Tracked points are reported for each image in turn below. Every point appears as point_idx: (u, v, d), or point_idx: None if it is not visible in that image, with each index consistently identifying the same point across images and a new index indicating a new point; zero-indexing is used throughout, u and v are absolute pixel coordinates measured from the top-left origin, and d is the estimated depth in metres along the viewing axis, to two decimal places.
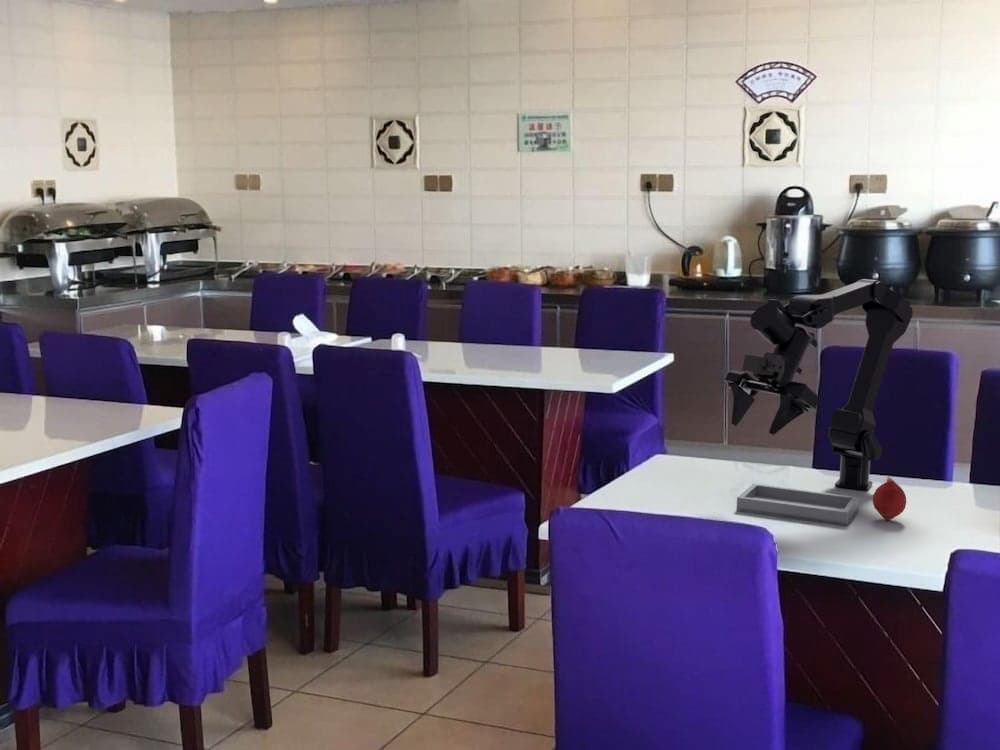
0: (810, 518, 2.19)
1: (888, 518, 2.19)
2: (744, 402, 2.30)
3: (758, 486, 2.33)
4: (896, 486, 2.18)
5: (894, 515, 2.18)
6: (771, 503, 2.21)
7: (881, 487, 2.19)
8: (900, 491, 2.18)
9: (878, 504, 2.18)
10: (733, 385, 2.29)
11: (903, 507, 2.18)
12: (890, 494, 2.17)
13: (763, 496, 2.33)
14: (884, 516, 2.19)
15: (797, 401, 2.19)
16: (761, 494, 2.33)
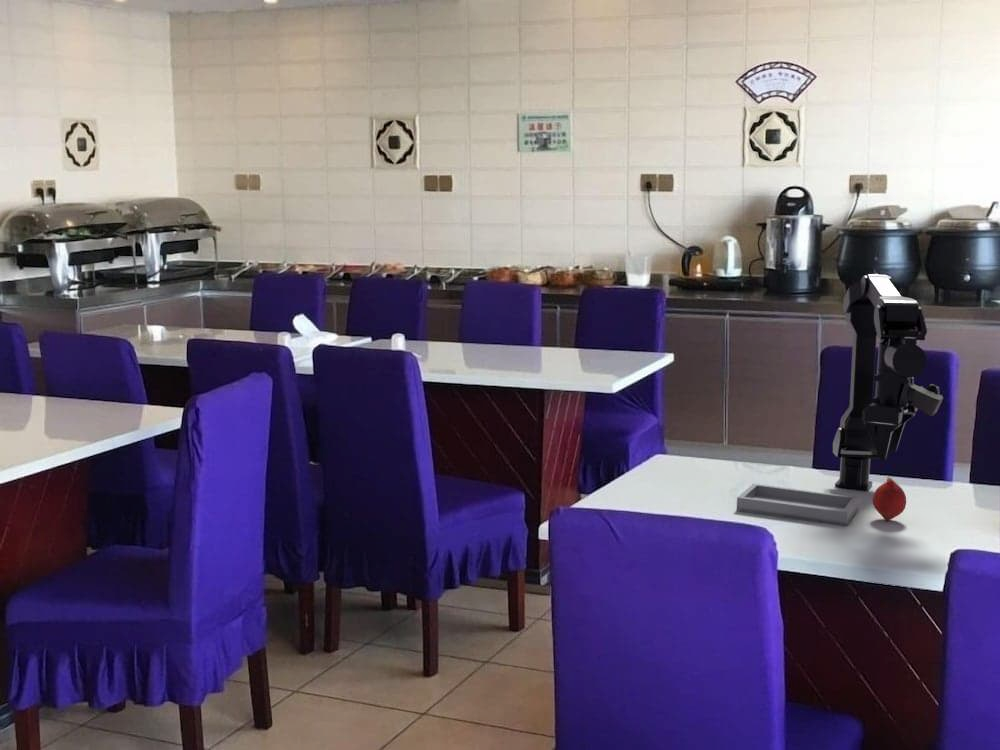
0: (810, 518, 2.19)
1: (888, 518, 2.19)
2: None
3: (758, 486, 2.33)
4: (896, 486, 2.18)
5: (894, 515, 2.18)
6: (771, 503, 2.21)
7: (881, 487, 2.19)
8: (900, 491, 2.18)
9: (878, 504, 2.18)
10: (899, 425, 2.11)
11: (903, 507, 2.18)
12: (890, 494, 2.17)
13: (763, 496, 2.33)
14: (884, 516, 2.19)
15: None
16: (761, 494, 2.33)
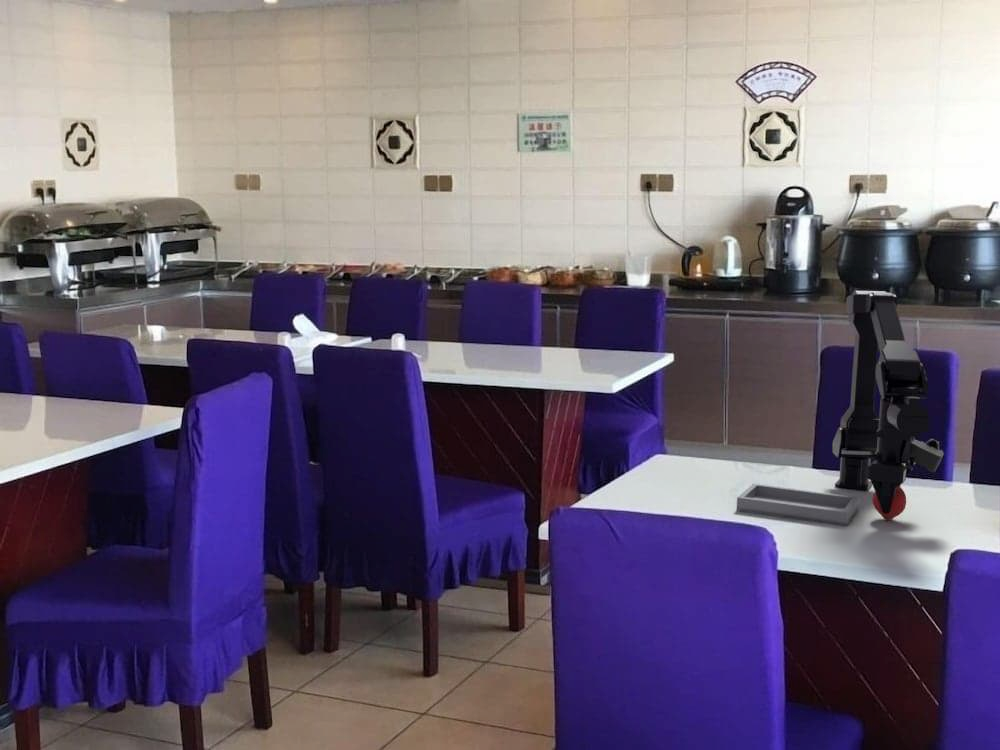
0: (810, 518, 2.19)
1: (888, 518, 2.19)
2: None
3: (758, 486, 2.33)
4: None
5: (894, 515, 2.18)
6: (771, 503, 2.21)
7: None
8: (900, 491, 2.18)
9: (878, 504, 2.18)
10: (904, 480, 2.14)
11: (903, 507, 2.18)
12: None
13: (763, 496, 2.33)
14: (884, 516, 2.19)
15: None
16: (761, 494, 2.33)
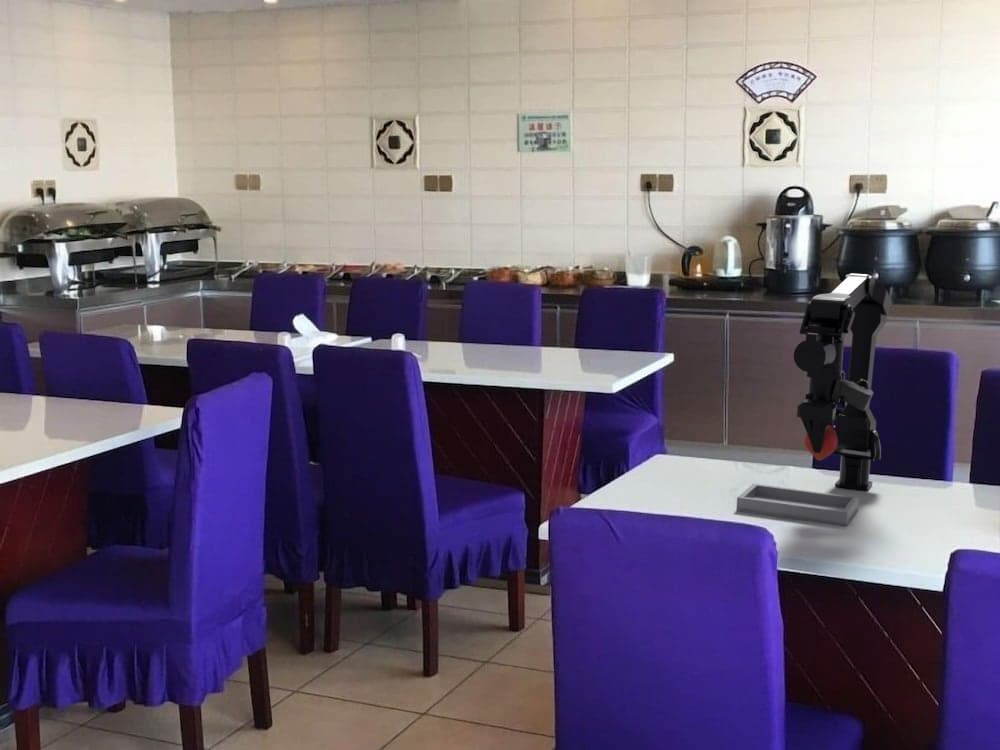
0: (810, 518, 2.19)
1: (820, 458, 2.22)
2: None
3: (758, 486, 2.33)
4: (827, 426, 2.21)
5: (825, 455, 2.21)
6: (771, 503, 2.21)
7: None
8: (831, 431, 2.20)
9: (810, 444, 2.21)
10: (834, 419, 2.16)
11: (834, 447, 2.20)
12: None
13: (763, 496, 2.33)
14: (816, 456, 2.22)
15: (835, 408, 2.27)
16: (761, 494, 2.33)
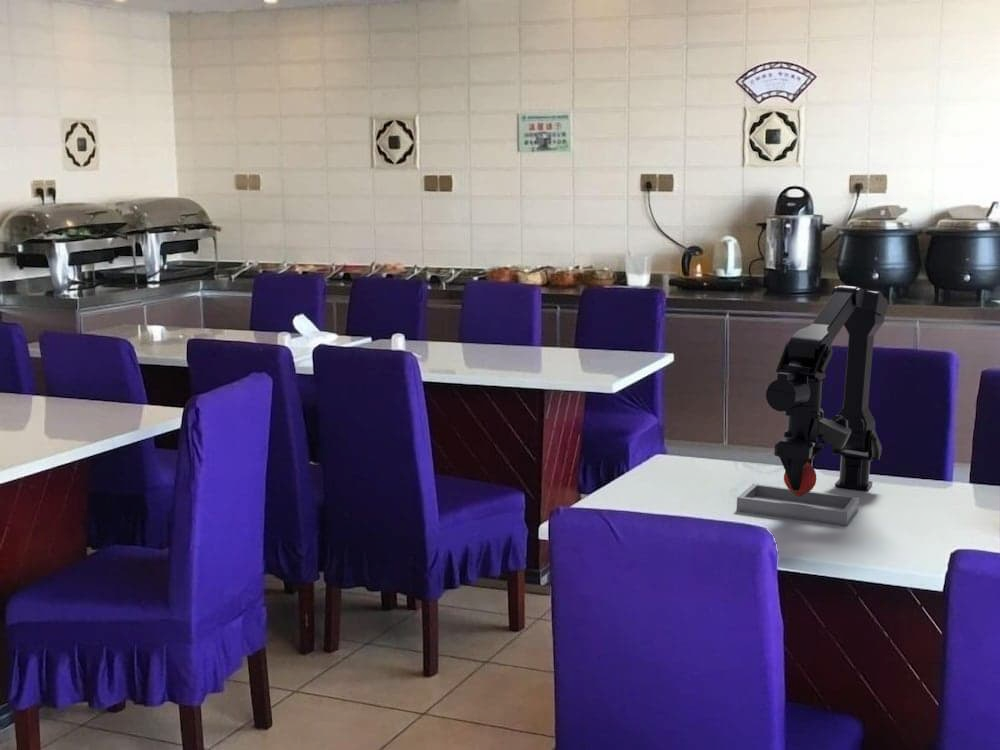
0: (810, 518, 2.19)
1: (798, 495, 2.24)
2: None
3: (758, 486, 2.33)
4: (806, 463, 2.23)
5: (804, 492, 2.23)
6: (771, 503, 2.21)
7: None
8: (810, 468, 2.23)
9: (788, 481, 2.23)
10: (812, 458, 2.18)
11: (813, 484, 2.23)
12: None
13: (763, 496, 2.33)
14: (795, 493, 2.24)
15: None
16: (761, 494, 2.33)
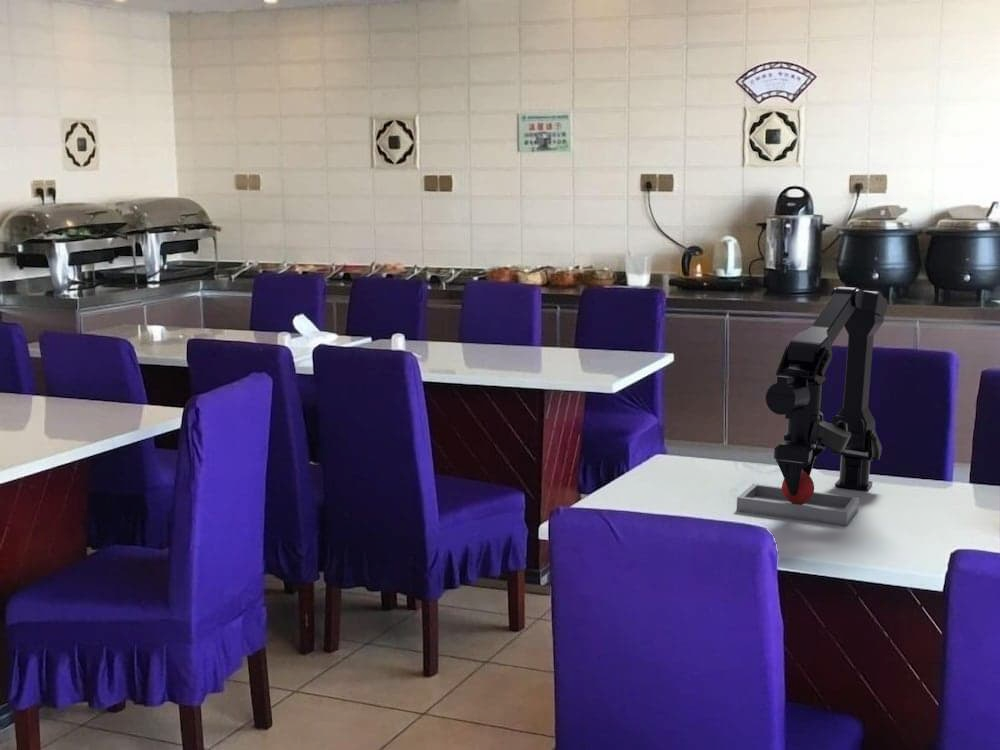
0: (810, 518, 2.19)
1: None
2: None
3: (758, 486, 2.33)
4: (803, 473, 2.23)
5: (803, 502, 2.23)
6: (771, 503, 2.21)
7: None
8: (807, 478, 2.23)
9: (786, 492, 2.23)
10: (809, 463, 2.17)
11: (811, 493, 2.23)
12: None
13: (763, 496, 2.33)
14: (793, 503, 2.24)
15: None
16: (761, 494, 2.33)
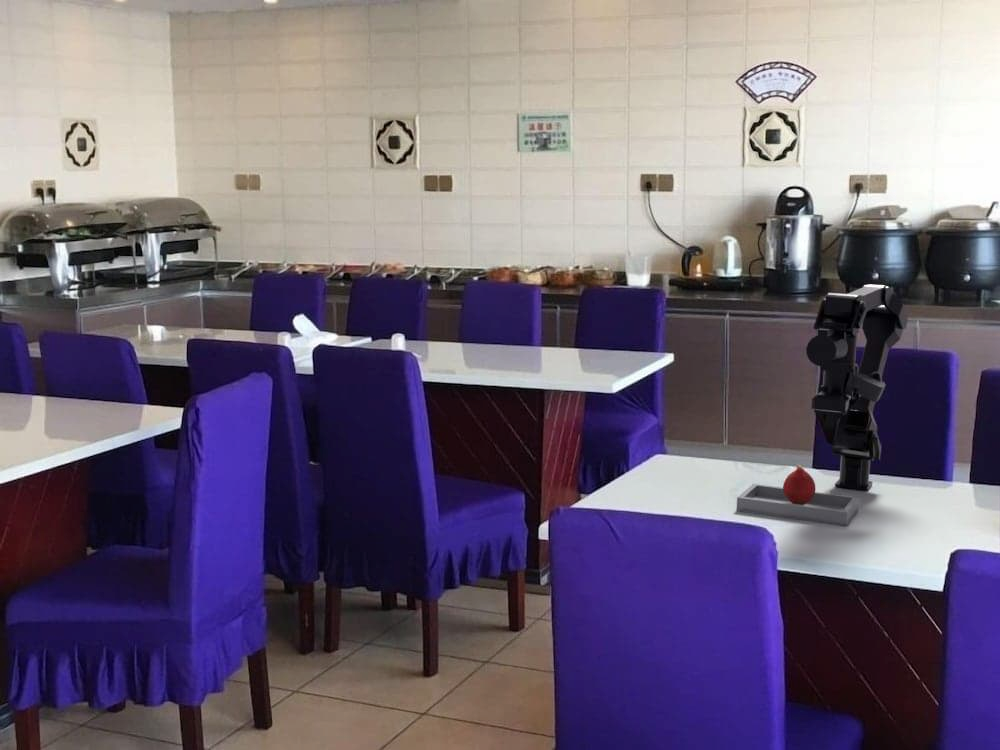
0: (810, 518, 2.19)
1: None
2: None
3: (758, 486, 2.33)
4: (805, 474, 2.23)
5: (803, 502, 2.23)
6: (771, 503, 2.21)
7: (791, 475, 2.24)
8: (809, 479, 2.23)
9: (787, 491, 2.23)
10: (846, 412, 2.25)
11: (812, 494, 2.23)
12: (798, 482, 2.22)
13: (763, 496, 2.33)
14: (794, 503, 2.24)
15: None
16: (761, 494, 2.33)
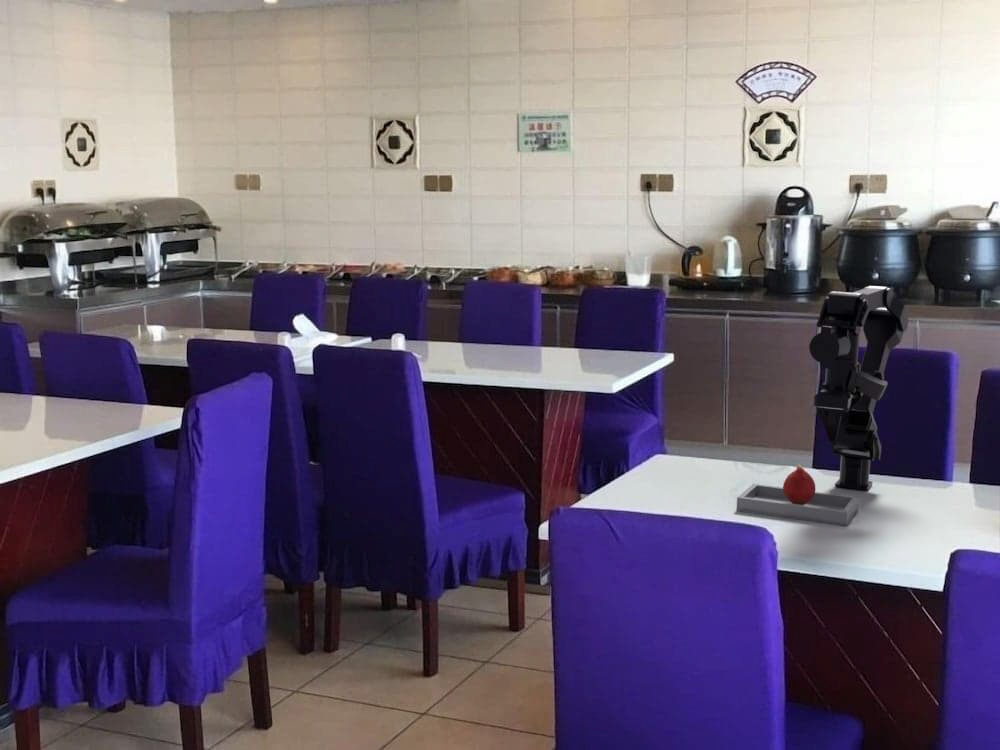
0: (810, 518, 2.19)
1: None
2: None
3: (758, 486, 2.33)
4: (805, 474, 2.23)
5: (803, 502, 2.23)
6: (771, 503, 2.21)
7: (791, 475, 2.24)
8: (809, 479, 2.23)
9: (787, 491, 2.23)
10: (848, 409, 2.26)
11: (812, 494, 2.23)
12: (798, 482, 2.22)
13: (763, 496, 2.33)
14: (794, 503, 2.24)
15: None
16: (761, 494, 2.33)
